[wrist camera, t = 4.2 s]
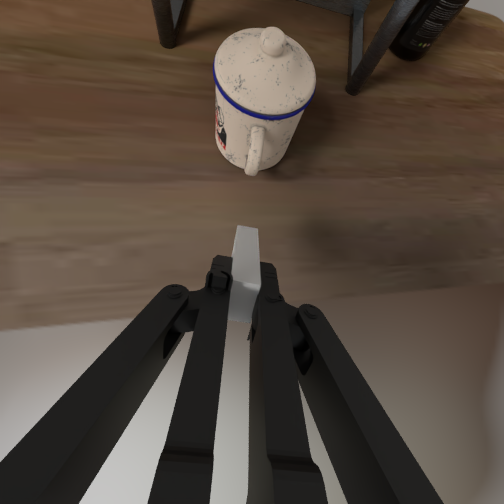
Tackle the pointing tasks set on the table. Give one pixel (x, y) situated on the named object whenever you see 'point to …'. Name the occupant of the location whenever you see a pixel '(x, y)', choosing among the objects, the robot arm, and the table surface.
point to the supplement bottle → (425, 27)
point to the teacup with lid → (260, 95)
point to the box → (349, 3)
